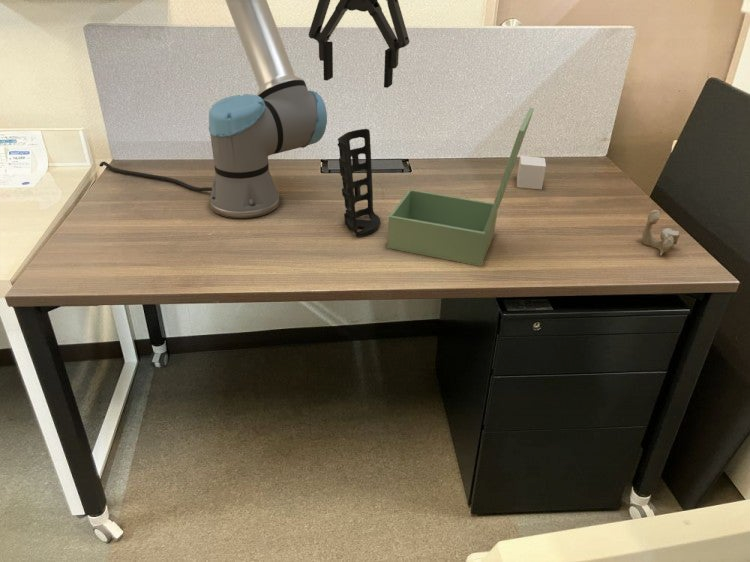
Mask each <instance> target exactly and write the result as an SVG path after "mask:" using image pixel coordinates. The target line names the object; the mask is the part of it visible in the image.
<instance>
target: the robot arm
mask: <svg viewBox="0 0 750 562" xmlns="http://www.w3.org/2000/svg"><path fill="white" fill-rule="evenodd" d="M385 1H386V3H387V8H388V11H389V15H390V19H391V22H392V25H393V28H394V30H393V28H392V27H391V25H390V23H389V21H388V19H387V17H386V16H385V14H384V12H383V9H382V6H381V5H380V2H379V0H339V1H338V3H337V4H336V6H335V8H334V11H333V12H332V13H331V16H330V17H329V19H328V20H327V22H326V24H325V26H324V27H323V25H324V22H325V19H326V16H327V12H328V10H329V6H330V3H331V0H318V2H317V5H316V9H315V12H314V15H313V17H312V18H313V19H312V22H311V25H310V27H309V30H308V38H310V39H312V40H315V41H316V42H317V43H318V59H319V61H320V62H323V64H322V65H323V67H322V68H323V81H327V82H328V81H329V80H331V79H333V78H334V57H333V56H334V51H333V41H330V38H331V36H332V35H333V34H334V31H335V30H336V28H337V26H338V25H339V23H340V22H341V20H342V18H343V17H344V15H345V14H346V12H347V11H351V12H352V11H359V12H363V13H366V12H368V14H369V15H370V16H371V17H372V19H373V22H374V23H375V24H376V25H375V26H376V27H377V28H378V30H379V32H380V34H381V35H382V37H383V39H384V41H385V43H386V45H387V49H385V50H384V72H383V88H387V89H388V88H389V87H391V86H392V85H393V79H394V78H393V77H394V76H393V75H394V69H396V68H398V65H399V53H400V49H403V48H405V47H407V46H408V45H410V38H409V34H408V31H407V27H406V24H405V20H404V17H403V13H402V10H401V7H400V2H399V0H385ZM225 3H226V6H227V9H228V11H229V14H230V17H231V18H232V19H231V20H232V21H233V24H234V26H235V29H236V33H237V34H238V37H239V39H240V42H241V44H242V45H241V46H242V47H243V50H244V53H245V55H246V58H247V61H248V63H249V66H250V68H251V71H252V74H253V76H254V78H255V81H256V85H257V86H258V91H257V92H256V94H250V93H249V94H248V93H247V94H242V95H241V94H236V95H235V94H234V95H231V96H227V97H225V98H222V99H220V100H218V101H216V102H215V103H214V104H213V105H212V106H211V107H210V109H209V111H208V132H209V134H210V142H211V143H210V144H211V151H212V158H213V164H214V178H213V182H212V186H211V187H210V186H209V187H208V186H207V187H206V186H205V187H198V186H193V185H191V184H188V183H186V182H183V181H181V180H179V179H176V178H172V177H168V176H164V175H157V174H153V173H152V174H151V173H145V172H139V171H134V170H128V169H123V168H119V167H118V168H117V167H114V166H113V165H111V164H109V163H108V162H107V161H101V162H100V163H99V165H98V166H99V167H104V166H105V167H106V168H107V169H109V170H111V171H113V172H115V173H121V174H125V175H126V174H127V175H130V176H131V175H132V176H137V177H143V178H149V179H155V180H161V181H167V182H171V183H173V184H177V185H179V186H182V187H183V188H186V189H189V190H192V191H195V192H210V198H209V203H210V209H211V210H212V211H213V213H215V214H217V215H219V216H222V217H226V218H230V219H253V218H258V217H261V216H262V217H263V216H266V215H268V214H270V213H272V212H274V211H275V210H276V209H277V208H278V207H279V205H280V194H279V192H278V189H277V187H276V184H275V182H274V180H273V177H272V174H271V172H270V165H269V156H273V155H276V154H280V153H284V152H288V151H292V150H296V149H301V148H306V147H308V146H311V145H313V144H316V143H318V142H320V140H321V139H322V138H323V137H324V135H325V133H326V129H327V125H328V112H327V108H326V104H325V101H324V99H323V97H322V96H321V94H319V93H318V92H317V91H315V90H308V87H307V84H306V82H305V79H304V78H301V77H299V76H297V75H296V74H295V71H294V69H293V67H292V66H293V65H292V63H291V61H290V59H289V56H288V53H287V51H286V48H285V45H284V43H283V40H282V37H281V35H280V32H279V29H278V27H277V24H276V21H275V20H274V15H273V13H272V11H271V8H270V6H269V2H268V0H225Z"/></svg>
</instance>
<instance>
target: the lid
mask: <svg viewBox="0 0 750 562" xmlns="http://www.w3.org/2000/svg"><path fill="white" fill-rule="evenodd" d="M534 110H535V108H534V107H529V108H528V110H527V112H526V115H525V118H524V119H523V121H522V123H521V125H520V128H519V129H518V132H517V135H516V138H515V141H514V143H513V147H512V149H511V152H510V155H509V158H508V160H507V164H506V166H505V170H504V173H503V175H502V178H501V181H500V184H499V187H498V189H497V192H496V194H495V195H496V196H495V198H494V201H493V203H494V204H493V207H492V210H491V213H490V215H489V218H488V221H487V224H486V227H485V230H484V231H486V232H489V229H490V227H491V225H492V222H493V220H494V217H495V215H496V213H497V214H498V211H499V208H500V206H501V203H502V201H503V198H504V195H505V192H506V189H507V186H508V183H509V181H510V178H511V176H512V173H513V170H514V167H515V164H516V161H517V158H518V155H519V153H520V151H521V147H522V144H523V141H524V139H525V136H526V133H527V130H528V127H529V125H530V121H531V119H532V116H533V113H534ZM497 210H498V211H497Z"/></svg>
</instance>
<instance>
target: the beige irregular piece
mask: <svg viewBox="0 0 750 562" xmlns="http://www.w3.org/2000/svg"><path fill="white" fill-rule="evenodd" d="M660 214H661V213H660V211H659V210H658V209H652V210H650V211H649V213H648V215H647V221H646V223H645V226H644V229H643V231H642V236H641V243H642V244H643V245H646V246H650V247H653V248H656V249H658V250H659V252H660V253H659V256H660V257H662V256H663V255H664V253H667V252H669V250H671V249H672V248H673V247H674V245H678V241H679V238H680V237H681V233H680V230H674V229H672V228H670V227H666V228H664V229H662V230H661V232H660V234H659V239H660V240H658V239H657V238H655V236H654V235H653V234H652V228H653V225H656V224H657V223H658V221H659V220H660Z"/></svg>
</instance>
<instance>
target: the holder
mask: <svg viewBox="0 0 750 562" xmlns="http://www.w3.org/2000/svg"><path fill="white" fill-rule="evenodd" d="M358 138H362V139H363V140H364V145H363V146H361V147H356V148H351V142H350V141H351V140H353V139H358ZM337 142H338V143H337V144H336V145H337V147H338V150H339V158H338V163H339V164H338V165H339V174H340V176H341V180H342V188H341V194H342V197H343V200H344V208H345V213H343V217H344V225H345V226H346V227H347V229H348V231H350V232H352V233H353V234H354V235H355V237H357V238H362V237H365V236H367V235H370V234H371V233H373V232H374V231H376V230H377V229H378V228H380V225H381V218H380V217H379V216H378V215H377V214H376V213H375V212H374V191H373V190H374V189H373V169H372V148H371V132H370V129H369V128H360V129H355V130H351V131H348V132H346V133H344V134H342V135H341V136H340V137H338V138H337ZM359 155H364V156H365V162H363V163H360V160H359ZM359 171H365V174H366V177H365V178H361V179H357V180H354V178H353V174H354V173H355V172H359ZM362 186H366V193H363V194H362V192H361V187H362ZM362 201H366V202H367V206H366V208H361V209H358V210H356V204H357V203H359V202H362ZM364 216H369V218H370V219H358V218H360V217H364ZM358 228H359V229H361V230H358Z"/></svg>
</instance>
